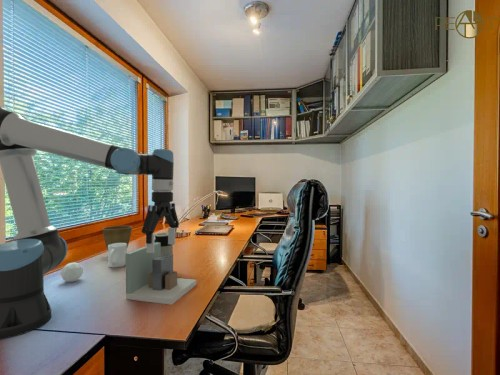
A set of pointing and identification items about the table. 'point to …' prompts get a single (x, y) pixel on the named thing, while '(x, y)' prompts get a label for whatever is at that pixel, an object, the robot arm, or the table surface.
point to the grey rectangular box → (161, 270)
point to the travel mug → (164, 243)
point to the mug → (117, 254)
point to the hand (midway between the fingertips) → (161, 248)
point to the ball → (72, 272)
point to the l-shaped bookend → (142, 279)
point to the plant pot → (117, 234)
